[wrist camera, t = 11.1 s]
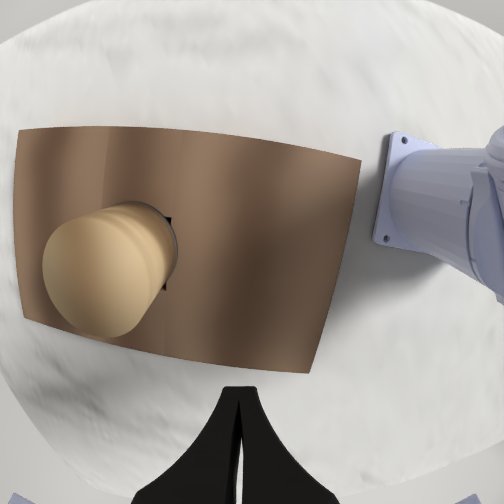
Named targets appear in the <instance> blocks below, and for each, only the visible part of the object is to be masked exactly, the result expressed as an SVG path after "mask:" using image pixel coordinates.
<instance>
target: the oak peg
mask: <svg viewBox="0 0 504 504" xmlns="http://www.w3.org/2000/svg"><path fill="white" fill-rule="evenodd" d="M177 258H178V244H177V239H176V236H175V233H174V230H173V228H172V226H171V225H170V223H169V222H168V220H167V219H166V218H165V217H164V215H163V214H162V213H160V212H159V211H158V210H157V209H155V208H154V207H152V206H150V205H148V204H146V203H143V202H138V201H124V202H120V203H117V204H114V205H112V206H110V207H108V208H105V209H102V210H99V211H96V212H93V213H90V214H87V215H84V216H81V217H79V218H76V219H73V220H70V221H68V222H66V223H64V224H62V225H61V226H60V227H58V228H57V229H56V230H55V231H54V232H53V234H52V235H51V236H50V238H49V240H48V242H47V244H46V247H45V250H44V254H43V262H42V269H43V278H44V282H45V286H46V289H47V292H48V294H49V296H50V299H51V301H52V302H53V304H54V306H55V307H56V309H57V310H58V311H59V313H60V314H61V315H62V316H63V317H64V318H65V319H66V320H67V321H68V322H69V323H70V324H72V325H73V326H74V327H76V328H77V329H79V330H81V331H82V332H85V333H87V334H89V335H92V336H96V337H102V338H113V337H118V336H121V335H123V334H126V333H127V332H129V331H131V330H132V329H133V328H134V327H135V326H136V325H137V324H138V323H139V321H140V320H141V318H142V317H143V315H144V314H145V312H146V311H147V309H148V308H149V306H150V305H151V303H152V301H153V300H154V298H155V297H156V295H157V294H158V292H159V291H160V289H161V288H162V286H163V285H164V284H165V283H166V282H167V280H168V279H169V278H170V276H171V275H172V273H173V271H174V269H175V266H176V263H177Z"/></svg>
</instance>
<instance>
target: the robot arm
mask: <svg viewBox="0 0 504 504" xmlns="http://www.w3.org/2000/svg"><path fill="white" fill-rule="evenodd" d="M402 137H403V138H404V139H405V143H404V144H403V143H402V140H401V139H402ZM385 235H387V240H386V241H383V238H384V236H385ZM372 239H373V241H374V242H375V243H376V244H379V245H384V246H389V247H395V248H400V249H405V250H411V251H416V252H421V253H426V254H431V255H433V256H435V257H436V258H438V259H440V260H442V261H444V262H445V263H447V264H449V265H451V266H452V267H454V268H456V269H458V270H459V271H461V272H463V273H464V274H466V275H468V276H469V277H471V278H473V279H474V280H476V281H478V282H479V283H481V284H483V285H484V286H486V287H488V288H489V289H491V290H492V291H494V293H495V295H496V298H497V301H498V302H499V303H501V304H502V305H504V126H502V127H501V128H499V129H498V130H497V131H495V132H494V133H493V135H492V136H491V139H490V141H489V143H488V145H487V146H486V147H485V148H451V149H443V148H441V147H439V146H436V145H434V144H431V143H429V142H426V141H424V140H421V139H418V138H416V137H413V136H410V135H408V134H405V133H402V132H399V131H395V132H392V134H391V136H390V142H389V149H388V156H387V162H386V169H385V175H384V180H383V186H382V191H381V197H380V202H379V207H378V212H377V217H376V221H375V226H374V230H373V235H372ZM241 437H242V446H243V489H242V504H340V503H339V501H338V500H337V498H336V497H335V495H334V494H333V493H332V492H330V491H329V490H328V489H326V488H325V487H324V486H322V485H321V484H320V483H319V482H318V481H316V480H315V479H314V478H313V477H312V476H311V475H310V474H309V473H308V472H307V471H306V470H305V469H304V468H303V467H302V466H301V465H300V464H299V463H298V462H297V461H296V460H295V459H294V458H293V456H292V455H291V454H290V453H289V452H288V450H287V449H286V448H285V446H284V445H283V444H282V442H281V441H280V439H279V438H278V436H277V434H276V433H275V431H274V430H273V428H272V426H271V424H270V422H269V420H268V418H267V416H266V414H265V412H264V410H263V408H262V405H261V403H260V400H259V396H258V392H257V388H256V387H255V386H225V387H224V388H223V390H222V393H221V396H220V398H219V400H218V403H217V405H216V407H215V409H214V411H213V413H212V415H211V416H210V418H209V420H208V422H207V423H206V425H205V426H204V428H203V429H202V431H201V432H200V434H199V435H198V437H197V438H196V440H195V441H194V442H193V443H192V445H191V446H190V447H189V448H188V449H187V451H186V452H185V453H184V454H183V455H182V456H181V457H180V458H179V459H178V460H177V461H176V462H175V463H174V464H173V465H172V466H171V467H170V468H169V469H167V470H166V471H165V472H164V473H163V474H162V475H160V476H159V477H158V478H157V479H155V480H154V481H152V482H151V483H150V484H148V485H147V486H145V487H144V488H142V489H140V490H139V491H137V493H136V494H135V496H134V498H133V500H132V502H131V504H236V483H237V472H238V464H239V455H240V446H241ZM8 504H34V503H33V502H31V501H29V500H27V499H25V498H23V497H22V496H20V495H18V494H16V493H13V495H12V497H11V499H10V501H9V503H8ZM456 504H481V502H480V501H479V499H478V497H477V495H476V494H473V495H471V496H469V497H467V498H466V499H463V500H462V501H460V502H458V503H456Z"/></svg>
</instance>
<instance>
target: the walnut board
mask: <svg viewBox="0 0 504 504" xmlns="http://www.w3.org/2000/svg"><path fill="white" fill-rule="evenodd" d="M361 161H362V160H358V159H354V158H350V157H346V156H342V155H338V154H333V153H329V152H324V151H320V150H315V149H310V148H305V147H300V146H295V145H290V144H285V143H279V142H273V141H267V140H261V139H255V138H248V137H241V136H234V135H226V134H218V133H209V132H200V131H189V130H178V129H164V128H147V127H118V126H82V127H54V128H38V129H26V130H19V133H18V140H17V149H16V159H15V172H14V194H13V222H14V244H15V257H16V267H17V276H18V284H19V291H20V297H21V303H22V309H23V314H24V317H25V318H27V319H30V320H33V321H36V322H39V323H42V324H45V325H48V326H51V327H54V328H57V329H60V330H63V331H66V332H70V333H73V334H77V335H80V336H83V337H87V338H91V339H94V340H98V341H102V342H106V343H109V344H113V345H118V346H122V347H126V348H130V349H135V350H139V351H144V352H148V353H153V354H158V355H163V356H168V357H174V358H179V359H185V360H191V361H197V362H203V363H210V364H216V365H224V366H231V367H239V368H248V369H257V370H268V371H279V372H292V373H309V372H310V369H311V366H312V363H313V360H314V357H315V354H316V351H317V348H318V344H319V341H320V338H321V335H322V331H323V328H324V325H325V321H326V318H327V314H328V311H329V307H330V303H331V300H332V296H333V292H334V289H335V285H336V281H337V277H338V273H339V269H340V265H341V261H342V257H343V252H344V248H345V244H346V239H347V235H348V230H349V225H350V221H351V216H352V211H353V206H354V201H355V195H356V190H357V185H358V179H359V173H360V167H361ZM124 201H138V202H143V203H146V204H148V205H150V206H152V207H154V208H155V209H157V210H158V211H159V212H160V213H162V214H163V215H164V216H165V217H172V218H171V226H172V228H173V230H174V233H175V236H176V239H177V244H178V258H177V263H176V266H175V269H174V271H173V273H172V275H171V276H170V278H169V279H168V280H167V282H166V283H165V284H164V285H163V286H162V288H161V289H160V291H159V292H158V294H157V295H156V297H155V298H154V300H153V301H152V303H151V305H150V306H149V308H148V309H147V311H146V312H145V314H144V315H143V317H142V318H141V320H140V321H139V323H138V324H137V325H136V326H135V327H134V328H133V329H132V330H131V331H129V332H127V333H126V334H123V335H121V336H118V337H113V338H102V337H96V336H92V335H89V334H87V333H85V332H82V331H81V330H79V329H77V328H76V327H74V326H73V325H72V324H70V323H69V322H68V321H67V320H66V319H65V318H64V317H63V316H62V315H61V314H60V313H59V311H58V310H57V309H56V307H55V306H54V304H53V302H52V301H51V299H50V296H49V294H48V292H47V289H46V286H45V282H44V278H43V269H42V262H43V254H44V250H45V247H46V244H47V242H48V240H49V238H50V236H51V235H52V234H53V232H54V231H55V230H56V229H57V228H58V227H60V226H61V225H62V224H64V223H66V222H68V221H70V220H73V219H76V218H79V217H81V216H84V215H87V214H90V213H93V212H96V211H99V210H102V209H105V208H108V207H110V206H112V205H114V204H117V203H120V202H124Z"/></svg>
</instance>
